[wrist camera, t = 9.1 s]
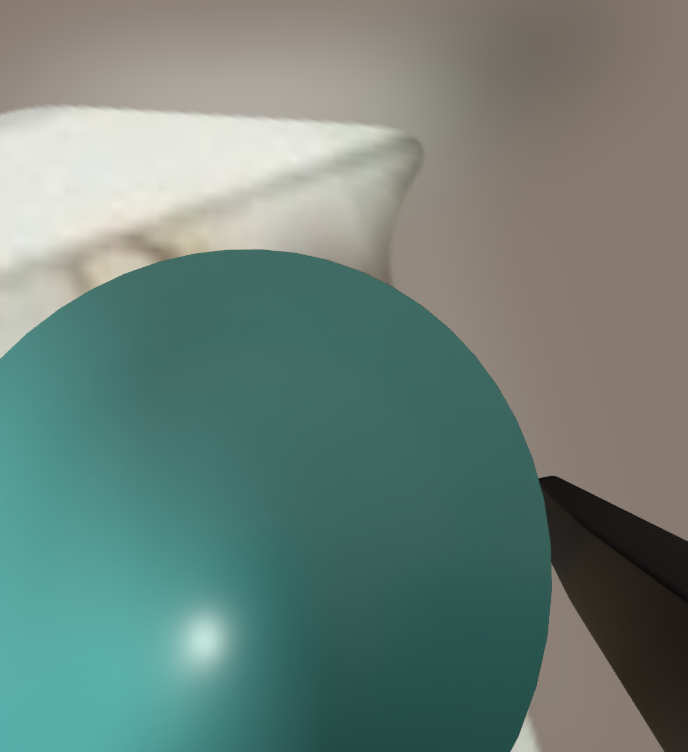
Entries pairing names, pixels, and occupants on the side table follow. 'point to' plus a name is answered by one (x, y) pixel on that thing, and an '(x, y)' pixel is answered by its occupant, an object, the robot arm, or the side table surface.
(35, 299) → the side table surface
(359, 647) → the ball
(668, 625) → the robot arm
